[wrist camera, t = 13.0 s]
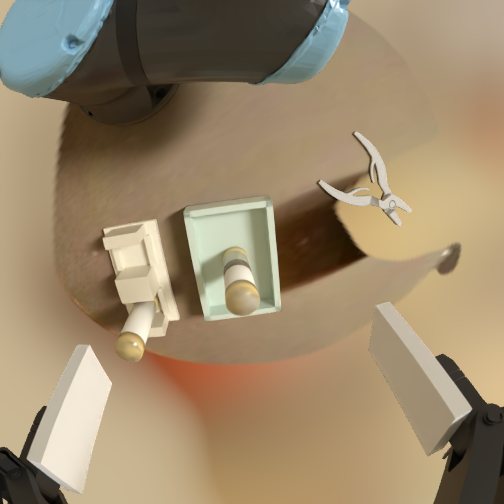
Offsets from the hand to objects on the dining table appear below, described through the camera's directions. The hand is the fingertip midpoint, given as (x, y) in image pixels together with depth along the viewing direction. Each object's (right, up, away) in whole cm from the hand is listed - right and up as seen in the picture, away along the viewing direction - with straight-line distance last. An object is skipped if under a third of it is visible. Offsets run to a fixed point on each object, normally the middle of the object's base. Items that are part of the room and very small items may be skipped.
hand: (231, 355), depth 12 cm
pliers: (+19, +14, +28) cm, 37 cm away
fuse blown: (-1, +4, +28) cm, 29 cm away
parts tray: (-2, +4, +29) cm, 30 cm away
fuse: (-15, -3, +30) cm, 33 cm away
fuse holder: (-15, +1, +29) cm, 33 cm away
